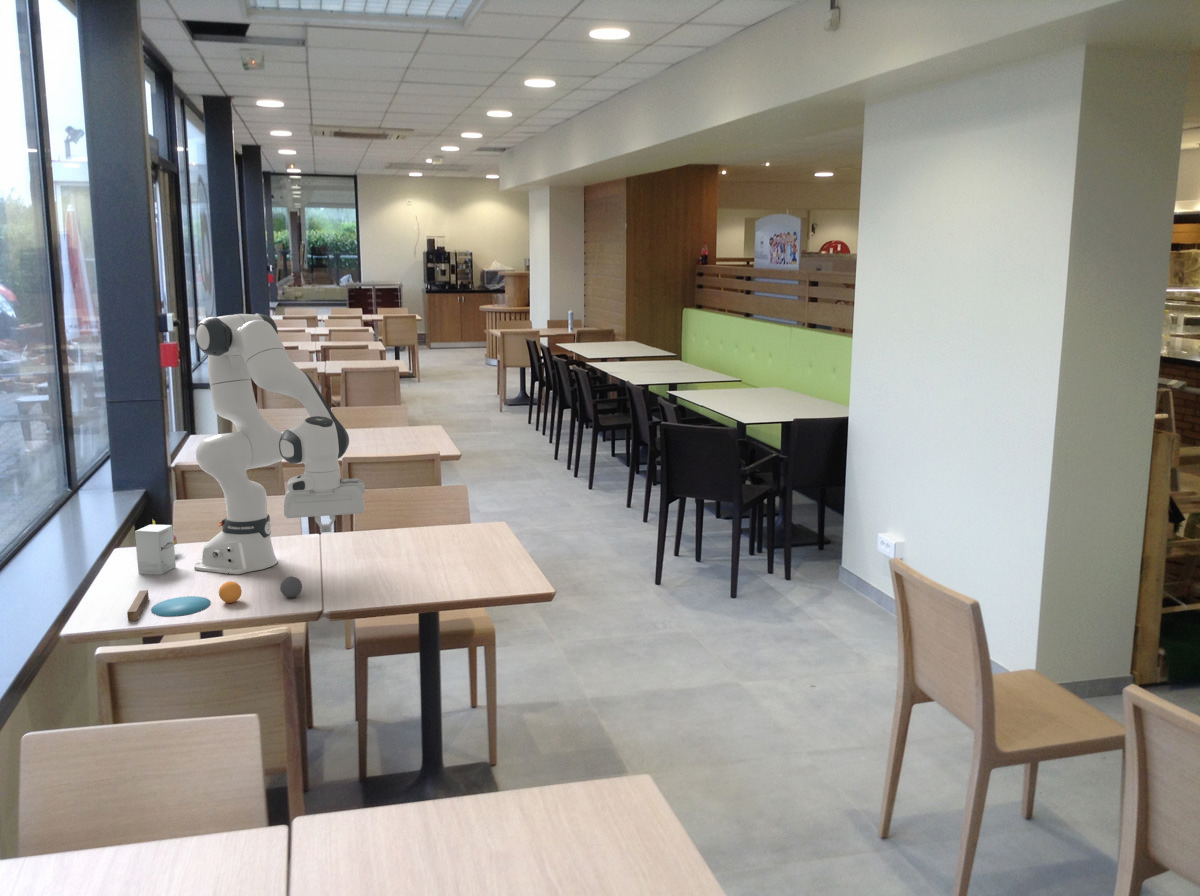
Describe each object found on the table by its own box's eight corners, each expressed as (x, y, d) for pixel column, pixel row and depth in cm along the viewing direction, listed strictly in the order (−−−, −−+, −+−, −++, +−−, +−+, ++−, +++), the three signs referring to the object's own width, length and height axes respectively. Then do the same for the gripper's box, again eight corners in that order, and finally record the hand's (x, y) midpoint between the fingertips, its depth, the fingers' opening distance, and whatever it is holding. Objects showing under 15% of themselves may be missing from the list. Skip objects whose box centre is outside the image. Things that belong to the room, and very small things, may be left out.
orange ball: (215, 605, 253) (214, 585, 252) (226, 598, 259) (224, 578, 258) (236, 606, 253) (234, 585, 252) (246, 598, 258) (244, 578, 257)
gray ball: (277, 600, 257) (275, 580, 256) (286, 593, 262) (284, 573, 261) (297, 601, 256) (296, 580, 255) (306, 593, 262) (304, 573, 261)
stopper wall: (128, 621, 242) (127, 612, 242) (140, 599, 258) (139, 590, 257) (137, 620, 243) (136, 611, 242) (148, 599, 258) (147, 590, 258)
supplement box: (162, 575, 277) (157, 531, 275) (137, 574, 278) (133, 530, 276) (177, 567, 284) (173, 524, 282) (153, 566, 285) (149, 523, 283)
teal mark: (139, 615, 247) (139, 614, 247) (169, 596, 260) (169, 595, 260) (193, 617, 245) (193, 616, 245) (220, 598, 259) (220, 597, 259)
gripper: (363, 475, 261) (366, 525, 264) (282, 479, 256) (286, 531, 259) (364, 480, 255) (367, 532, 258) (281, 485, 250) (284, 537, 253)
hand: (325, 531), depth 258 cm, fingers closed
